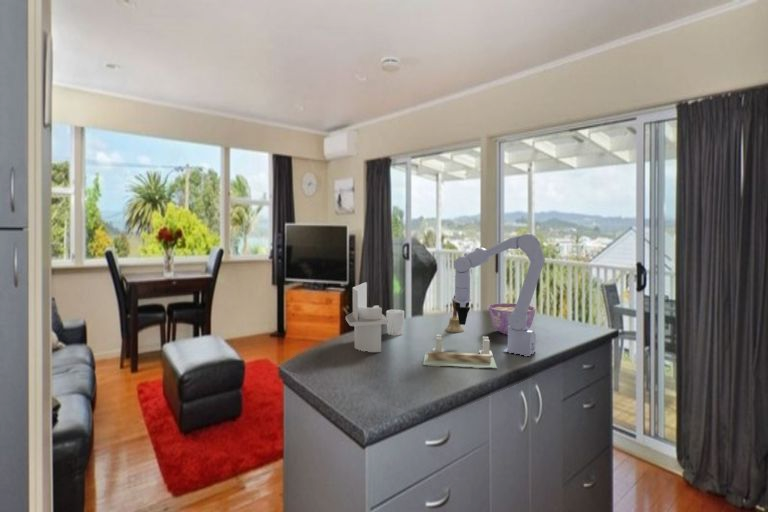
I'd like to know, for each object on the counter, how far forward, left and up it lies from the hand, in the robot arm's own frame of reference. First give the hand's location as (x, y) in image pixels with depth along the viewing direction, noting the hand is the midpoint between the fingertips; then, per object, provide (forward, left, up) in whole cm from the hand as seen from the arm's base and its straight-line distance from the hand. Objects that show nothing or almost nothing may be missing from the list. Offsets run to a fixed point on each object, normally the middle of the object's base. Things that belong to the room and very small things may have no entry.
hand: (462, 322), depth 162 cm
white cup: (+32, +1, -10) cm, 33 cm away
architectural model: (+30, +23, -10) cm, 39 cm away
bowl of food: (-7, -32, -10) cm, 34 cm away
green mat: (-9, +19, -9) cm, 23 cm away
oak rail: (-9, +19, -9) cm, 22 cm away
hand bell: (+15, -21, -10) cm, 28 cm away
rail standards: (-5, +9, -9) cm, 14 cm away
